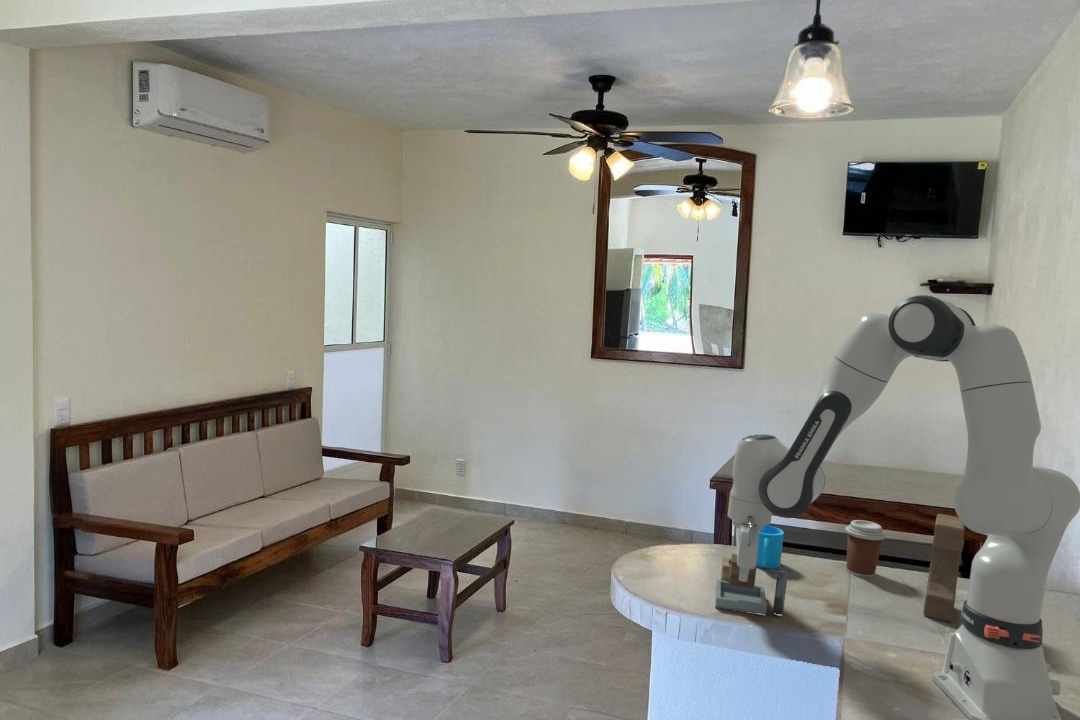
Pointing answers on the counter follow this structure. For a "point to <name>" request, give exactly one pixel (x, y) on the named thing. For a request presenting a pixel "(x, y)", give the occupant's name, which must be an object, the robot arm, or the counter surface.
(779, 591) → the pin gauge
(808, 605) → the counter surface
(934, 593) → the decorative block
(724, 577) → the block
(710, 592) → the counter surface
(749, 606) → the tray
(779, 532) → the mug
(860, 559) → the coffee cup
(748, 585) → the block
